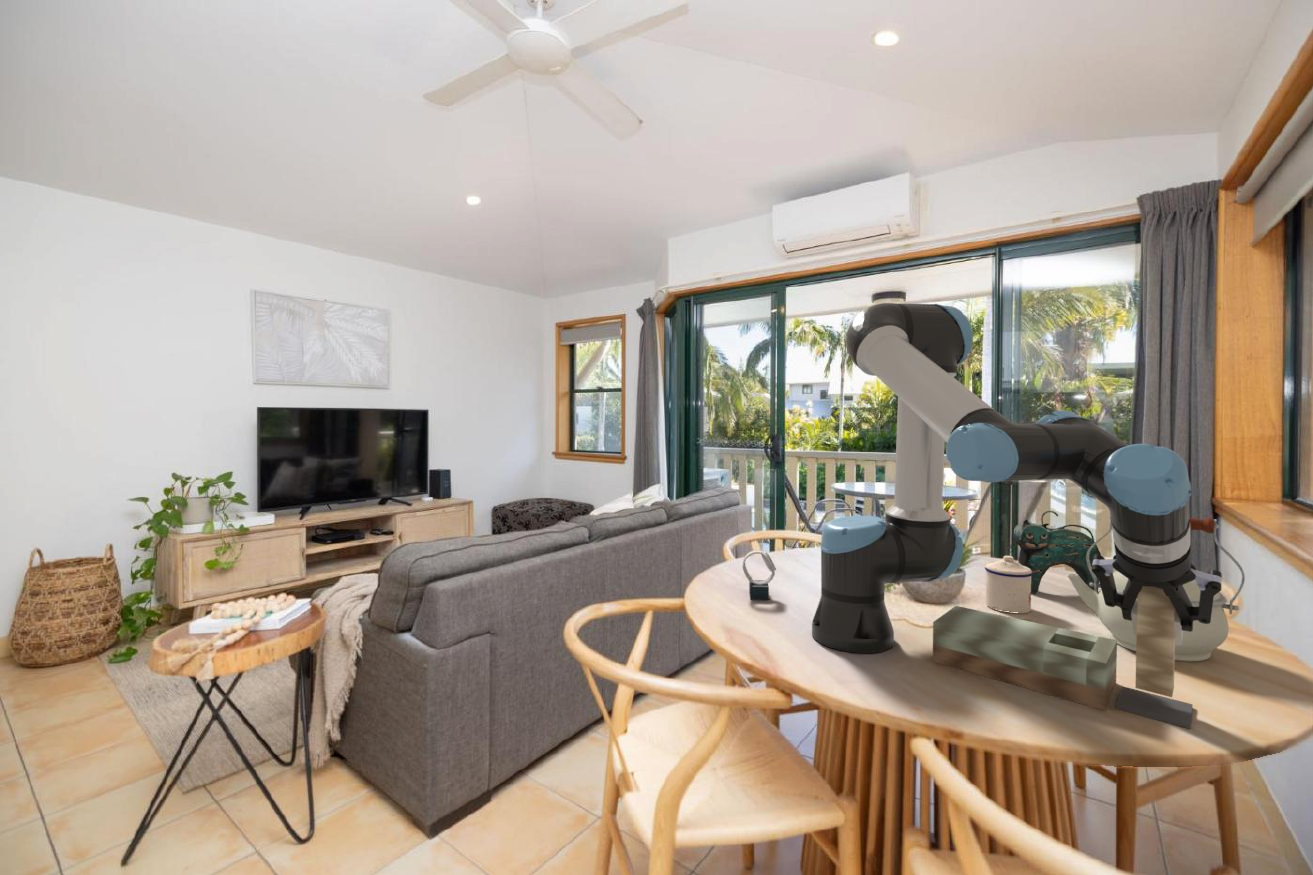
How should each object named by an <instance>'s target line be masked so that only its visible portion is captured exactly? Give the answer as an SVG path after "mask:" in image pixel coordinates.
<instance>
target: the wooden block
mask: <svg viewBox="0 0 1313 875" xmlns="http://www.w3.org/2000/svg"><path fill="white" fill-rule="evenodd" d="M1174 618H1175V608H1174V606H1173V604H1172V603H1171V601H1170V599H1169V597H1168V596H1166V595H1165V593H1164V591H1163V589H1160V588H1156V587H1149V586H1143V587H1142V589H1141V591H1140V592H1139V594H1138V602H1137V644H1136V652H1135V689H1136V690H1140V691H1144V692H1148V693H1150V692H1151V693H1152V694H1156V695H1157V694H1158V695H1160V696H1164V697H1168V698H1173V696H1174V695H1173V693H1174V688H1175V665H1176V664H1175V663H1176V661H1175V627H1174Z"/></svg>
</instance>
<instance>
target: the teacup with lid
mask: <svg viewBox="0 0 1313 875" xmlns="http://www.w3.org/2000/svg"><path fill="white" fill-rule="evenodd" d="M984 570H985V604H986V606H987V607H988V606H989V607H988V608H990V607H991V608H990V609H992V608H993V609H992V610H994V609H997V610H1002V611H1009V612H1018V613H1024V614H1027V613H1030V611H1031V610H1032V609H1031V608H1032V607H1031V606H1032V593H1031V576H1032V575H1033V573H1032V571H1031V569H1030V568H1028V567H1025V566H1023V565H1021V564H1020V563H1018V561H1015V559H1014V557H1013V556H1011V555H1004V556H1003V557H1002V559H999V560H997V561H995V562H990V563H986V565H985V566H984ZM997 610H996V611H997Z"/></svg>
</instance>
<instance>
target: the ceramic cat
mask: <svg viewBox="0 0 1313 875" xmlns="http://www.w3.org/2000/svg"><path fill="white" fill-rule="evenodd" d="M1048 513H1052V514H1054V515H1055V516H1056V517H1059V513H1057V512H1056V511H1053V510H1046V511H1045V512H1043V513H1042V515H1041V524H1037V523H1033V522H1029V521H1028V519H1025V520H1024V521H1023V522H1020V523H1019V524H1017V525H1015V527H1014V529H1013V534H1012V536H1013V540H1014V542H1015V543H1016V544H1017V545H1018V546H1019V548H1020V550H1019V555H1018V561H1017V562H1018V563H1020V564H1021V565H1023V566H1025V567H1028V568H1030V569H1031V571H1032V573H1033V575H1032V576H1031V594H1039V591H1040V590H1039V589H1040V585H1041V581H1042V579H1043V577H1044V575H1045V574H1046V572H1047V571H1048V570H1049V569H1050V568H1052V567H1055V566H1061V565H1065V566H1067V567H1070V568H1071V569H1072V570H1073V571H1074V572H1075V574H1078V575H1079V576H1080V578H1081V579H1082V580H1083V581H1084V583H1085V584H1086V585H1087V586H1089V587H1090V588H1091V589H1092V590H1094V586H1093V587H1091V586H1090V585H1089V584H1090V583H1091V582H1092V583H1094V579H1093V577H1092V575H1091V573H1090V570H1089V568H1088V565H1087V560H1086V555H1087V551H1088V550H1089V548H1090V547H1091V546H1092V545H1093V544H1094V543H1095V542H1096V541H1095V538H1094V535H1093V533H1092V531H1091V530H1090V528H1088V527H1085V526H1083V525H1079V524H1065V525H1063V526H1059V527H1055V528H1049V527H1048V526H1049V525H1050V523H1044V522H1043V521H1044V520H1043V519H1044V516H1045V515H1046V514H1048ZM1067 527H1075V528H1076V527H1077V528H1081V529H1084V530H1086V532H1088V533H1089V535H1090V536H1091V537H1090V536H1089V535H1088V534H1085V533H1084V532H1081V531H1077V530H1074V529H1069V528H1067ZM1094 555H1101V556H1102V554H1101V552H1100V548H1099V547H1098V545H1097V544H1096V545H1094V546H1093V548H1092V549H1091V550H1090V553H1089V560H1090V564H1091V567H1092V564H1093V558H1094ZM1095 576H1096V575H1095ZM1096 578H1097V583H1098V584H1100V583H1099V578H1098V577H1097V576H1096ZM1096 592H1099V588H1097V591H1096Z"/></svg>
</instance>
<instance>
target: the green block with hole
mask: <svg viewBox="0 0 1313 875" xmlns="http://www.w3.org/2000/svg"><path fill="white" fill-rule="evenodd" d="M1117 657H1118V644H1117V640H1113V639H1111V638H1108V637H1103V636H1099V635H1094V634H1090V633H1084V632H1080V631H1074V630H1069V629H1067V628H1066V629H1065V628H1061V627H1057V626H1052V625H1047V624H1043V623H1038V622H1034V621H1029V620H1024V619H1020V618H1019V619H1018V618H1015V617H1010V616H1007V615H1005V616H1004V615H1002V614H997V613H992V612H987V611H983V610H977V609H974V608H973V609H972V608H968V607H963V606H958V605H955V606H953V607H952V608H950V609H949V610H948V611H947V612H945V613H943V614H942V615H941V616H939V617H938V618H937V619H935V620H934V621H933V623H932V662H934V663H938V664H940V665H944V666H949V667H951V668H956V669H959V670H962V671H965V672H969V673H973V674H976V675H979V676H983V677H986V678H989V679H993V680H998V681H1000V682H1004V683H1008V684H1011V685H1014V686H1018V687H1022V688H1023V689H1024V688H1025V689H1029V690H1032V691H1036V692H1039V693H1042V694H1046V695H1049V696H1053V697H1057V698H1059V699H1062V700H1063V699H1064V700H1068V701H1071V702H1074V703H1077V704H1080V705H1084V706H1088V707H1091V708H1095V709H1098V710H1101V711H1106V710H1107V707H1108V705H1109V702H1110V700H1111V697H1112V695H1113V692H1114V689H1115V687H1116V684H1117V660H1118V659H1117Z"/></svg>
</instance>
